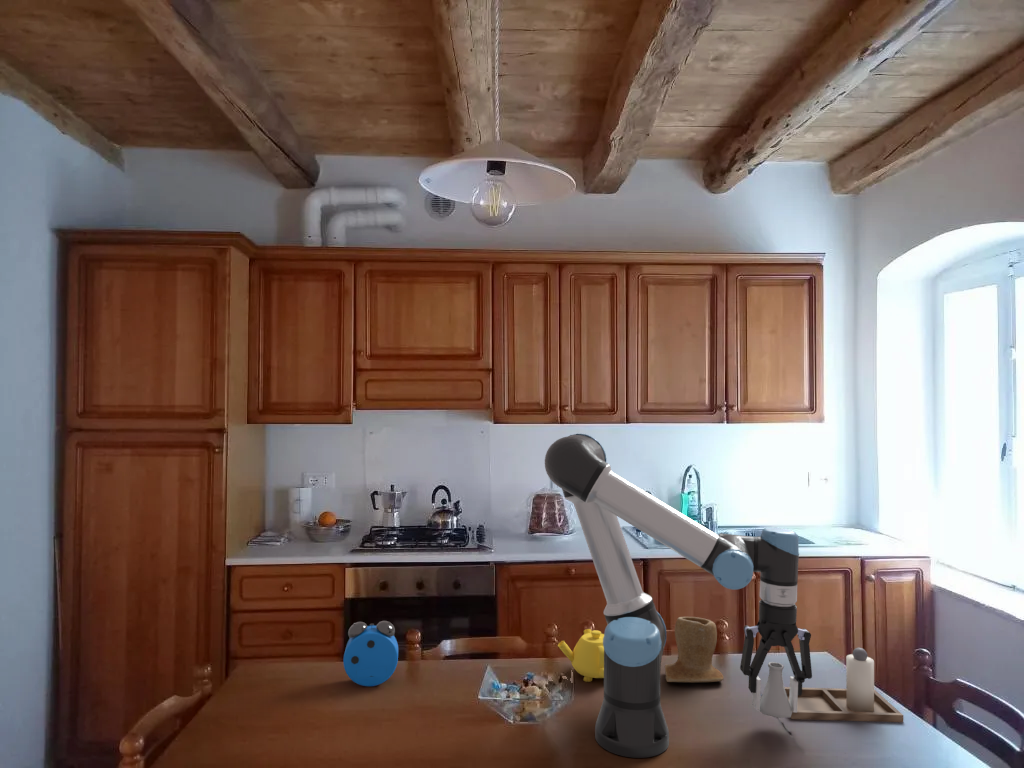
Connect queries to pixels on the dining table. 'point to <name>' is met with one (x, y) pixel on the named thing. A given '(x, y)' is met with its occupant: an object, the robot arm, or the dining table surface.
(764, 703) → the flask
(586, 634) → the teapot
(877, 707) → the tray
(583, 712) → the dining table surface
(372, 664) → the alarm clock
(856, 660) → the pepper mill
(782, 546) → the robot arm
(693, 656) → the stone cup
